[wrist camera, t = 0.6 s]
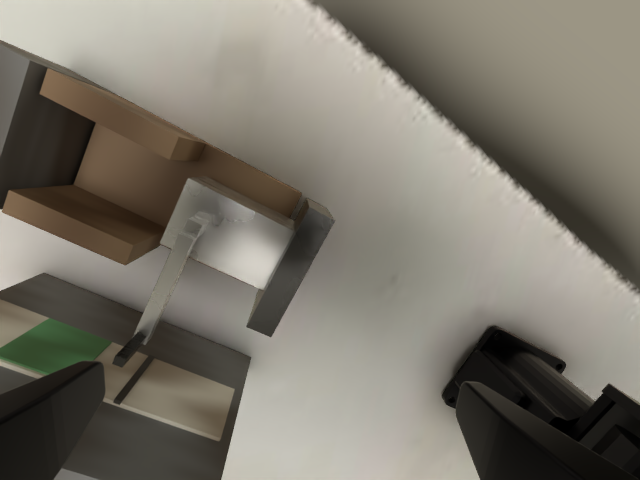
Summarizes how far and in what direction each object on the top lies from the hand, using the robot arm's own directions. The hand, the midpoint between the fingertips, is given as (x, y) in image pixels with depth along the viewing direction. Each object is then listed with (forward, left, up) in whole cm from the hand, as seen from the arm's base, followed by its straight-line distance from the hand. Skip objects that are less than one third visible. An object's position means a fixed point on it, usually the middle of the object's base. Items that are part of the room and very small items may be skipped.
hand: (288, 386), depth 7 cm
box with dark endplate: (+3, +1, -9) cm, 10 cm away
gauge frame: (+7, +2, -11) cm, 13 cm away
